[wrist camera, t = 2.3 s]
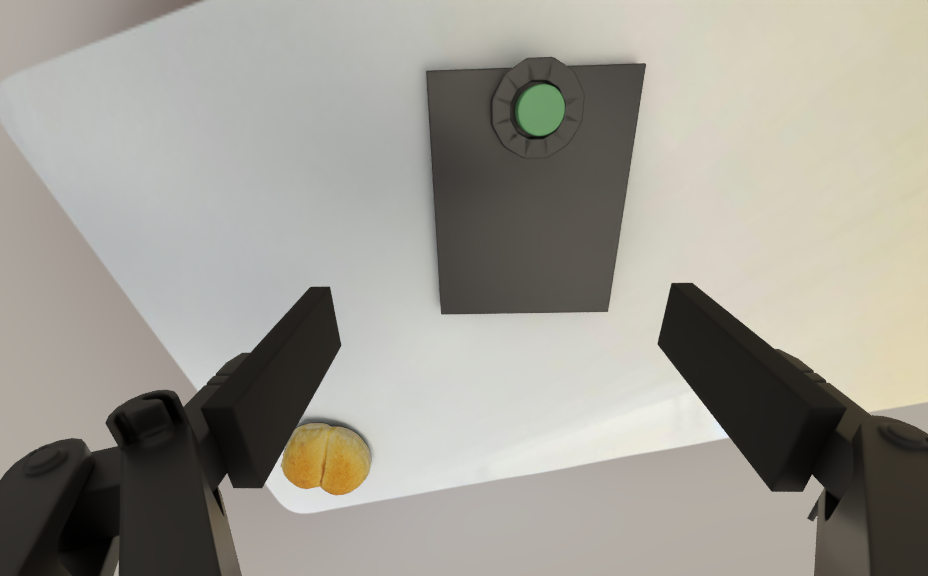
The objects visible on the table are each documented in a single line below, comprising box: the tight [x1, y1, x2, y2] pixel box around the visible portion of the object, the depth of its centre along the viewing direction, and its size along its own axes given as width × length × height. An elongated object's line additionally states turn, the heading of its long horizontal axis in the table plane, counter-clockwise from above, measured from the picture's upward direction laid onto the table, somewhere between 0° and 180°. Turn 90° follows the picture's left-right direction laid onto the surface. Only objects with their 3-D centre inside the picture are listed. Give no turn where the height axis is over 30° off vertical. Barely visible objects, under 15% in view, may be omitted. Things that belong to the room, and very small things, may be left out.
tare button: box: [515, 84, 565, 136], centre depth 23 cm, size 3×3×2 cm
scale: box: [426, 57, 646, 314], centre depth 28 cm, size 18×14×3 cm
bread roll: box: [281, 423, 371, 495], centre depth 39 cm, size 8×9×4 cm
